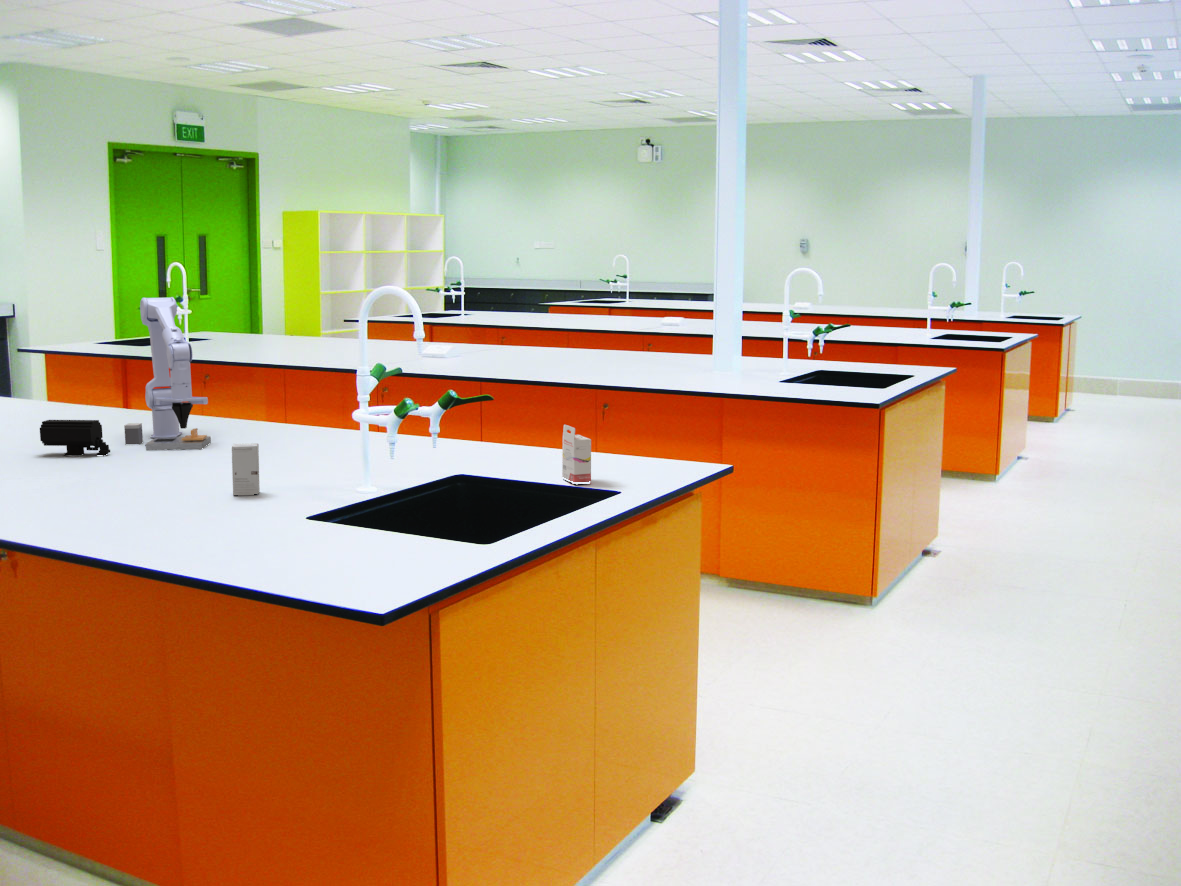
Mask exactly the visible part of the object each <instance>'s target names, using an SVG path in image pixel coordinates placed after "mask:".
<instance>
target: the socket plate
mask: <svg viewBox="0 0 1181 886" xmlns="http://www.w3.org/2000/svg"><path fill="white" fill-rule="evenodd" d="M183 437H184V436H177V437H156V438H152V439H151V440H150V441H148V442H146V443H145V450H146V451H164V450H163V449H199V450H203V449H205V448H206V447H207V446H209V445H210V444H211V443H212V437H211V436H209V435H207V437H206V438H205V439H203V440H184V441H182V438H183ZM209 443H210V444H209ZM208 444H209V445H208ZM206 445H207V446H206ZM205 446H206V447H205ZM204 447H205V448H204ZM202 448H203V449H202Z"/></svg>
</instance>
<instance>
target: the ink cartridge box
mask: <svg viewBox="0 0 1181 886" xmlns="http://www.w3.org/2000/svg"><path fill="white" fill-rule="evenodd" d="M562 430H563V432H562V457H561V458H562V464H561V465H562V466H561V467H562V470H561V471H562V472H561V473H562V477H564V478H566V479H568V480H570V481H573V482H589V481H591V482H592V439H591V438H589V437H586V436H583V435H581V434H576V428H575V427H573V426H570V425H567V424H563V428H562ZM568 431H569V432H570V433H569V432H568Z"/></svg>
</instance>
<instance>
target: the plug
mask: <svg viewBox="0 0 1181 886" xmlns="http://www.w3.org/2000/svg"><path fill="white" fill-rule="evenodd" d="M143 436H144V435H143V423H139V422H138V423H137V422H136V423H126V424H125V425H124V438H125V445H126V444H139V445H141V444H143V443H144V439H143ZM142 442H143V443H142ZM140 443H141V444H140Z"/></svg>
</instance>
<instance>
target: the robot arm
mask: <svg viewBox="0 0 1181 886" xmlns="http://www.w3.org/2000/svg"><path fill="white" fill-rule="evenodd" d="M139 302H140V303H139V304H140V305H139V312H140V320H141V322H142V323H141V324H142V325H144V326H146V327H147V328H148V332H149V333H148V334H149V340H150V350H151V351H150V352H151V362H152V371H153V378H152V379H151V380H150V381H148V382H147V383H146V385H145V394H144V395H145V397H144V398H145V403H146V406H147V407H148V408H149V409H151V416H152V433H153V434H152V435H150V436H149V439H155V438H156V437H180V435H182V434H183V433H184V432H183V431H180V429H181V430H182V429H186V428H188V422H189V421H188V420H189V417H190V414H191V411H192V410H193V407H194V406H193V405H208V404H209V399H208V398H209V397H207V396H193V391H192V389H193V388H192V375H191V374H192V373H191V372H192V371H191V362H192V361H193V347H192V345H191V343H190V342H189V341H188V340H185V337H184V334H183V332H182V329H181V328H179V327H178V326H176V324H175V323H176V322H175V317H176V315H177V311H178V307H177V301H176V299H175V298H174V296H171V297H142V298H141V300H140V301H139Z"/></svg>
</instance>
